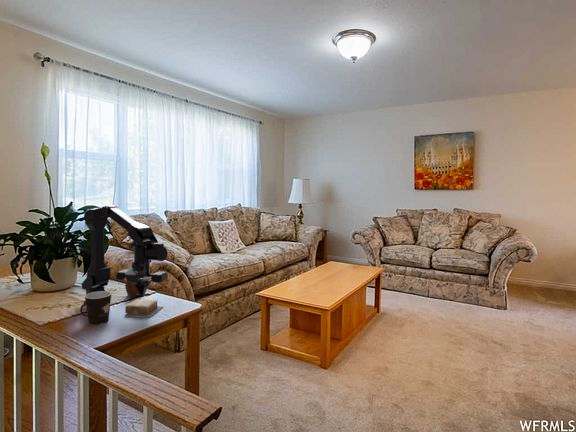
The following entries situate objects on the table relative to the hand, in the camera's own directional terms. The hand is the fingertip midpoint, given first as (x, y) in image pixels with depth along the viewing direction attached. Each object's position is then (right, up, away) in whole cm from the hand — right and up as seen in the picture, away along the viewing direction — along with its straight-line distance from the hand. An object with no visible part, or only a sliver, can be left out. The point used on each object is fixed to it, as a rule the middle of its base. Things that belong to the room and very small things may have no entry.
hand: (142, 296), depth 138 cm
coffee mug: (-13, -7, -11) cm, 18 cm away
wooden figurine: (-12, -4, +20) cm, 24 cm away
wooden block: (-5, -4, +1) cm, 6 cm away
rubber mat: (+1, -6, +1) cm, 6 cm away
